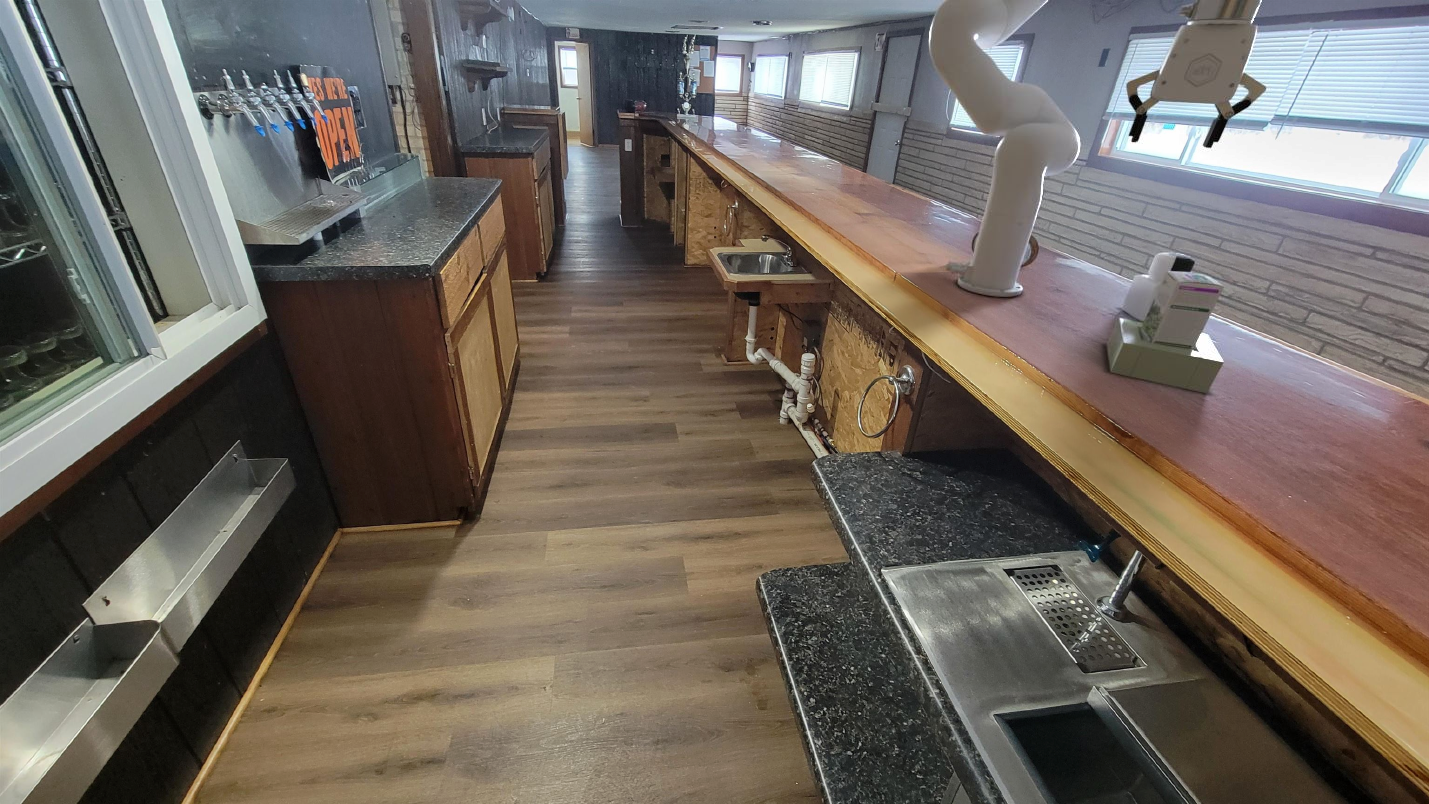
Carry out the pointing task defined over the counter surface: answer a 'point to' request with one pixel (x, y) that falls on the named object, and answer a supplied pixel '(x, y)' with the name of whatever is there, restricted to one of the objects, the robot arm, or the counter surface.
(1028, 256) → the tin
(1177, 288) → the syrup box
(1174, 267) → the medicine bottle
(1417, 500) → the counter surface
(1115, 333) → the socket block
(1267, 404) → the counter surface
